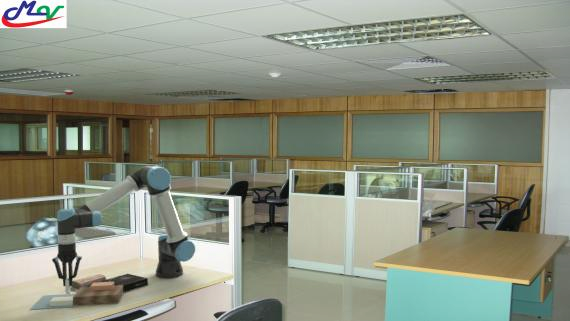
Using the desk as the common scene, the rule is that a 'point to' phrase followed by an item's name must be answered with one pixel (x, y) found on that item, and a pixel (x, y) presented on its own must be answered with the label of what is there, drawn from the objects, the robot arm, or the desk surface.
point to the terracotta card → (102, 286)
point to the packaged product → (86, 282)
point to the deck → (97, 296)
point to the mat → (45, 302)
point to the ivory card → (61, 301)
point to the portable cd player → (128, 281)
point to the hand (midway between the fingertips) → (68, 292)
